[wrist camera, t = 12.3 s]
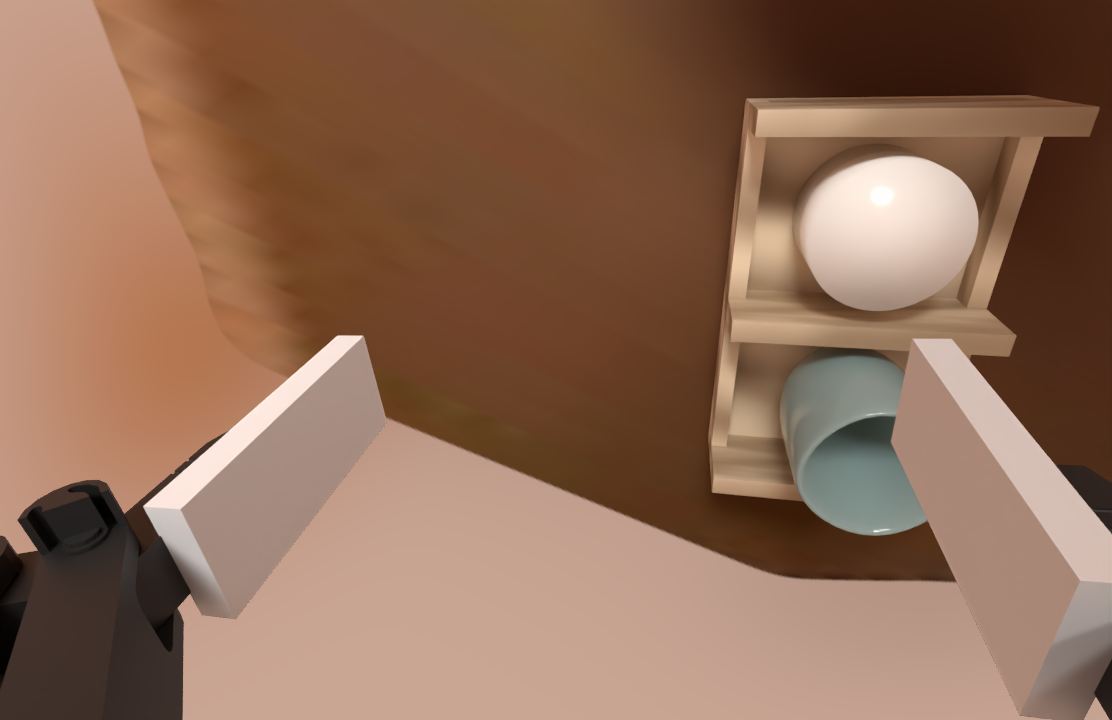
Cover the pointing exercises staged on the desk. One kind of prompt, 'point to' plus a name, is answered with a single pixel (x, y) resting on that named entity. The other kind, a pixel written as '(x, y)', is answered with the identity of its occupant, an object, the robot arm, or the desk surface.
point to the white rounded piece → (884, 226)
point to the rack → (790, 287)
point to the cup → (848, 440)
